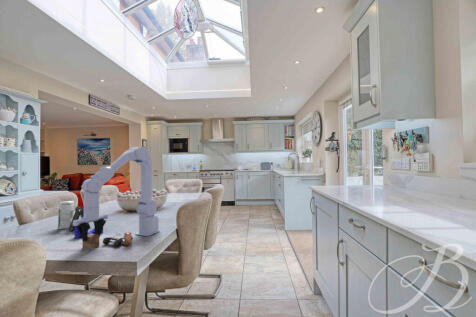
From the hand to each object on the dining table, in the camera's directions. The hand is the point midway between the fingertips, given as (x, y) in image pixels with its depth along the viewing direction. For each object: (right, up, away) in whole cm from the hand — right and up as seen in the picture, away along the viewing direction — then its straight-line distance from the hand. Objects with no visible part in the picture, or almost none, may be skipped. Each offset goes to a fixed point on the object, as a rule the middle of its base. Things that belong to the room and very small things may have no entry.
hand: (91, 239), depth 106 cm
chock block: (0, -4, 0) cm, 4 cm away
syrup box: (-33, -4, +32) cm, 46 cm away
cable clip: (-11, -4, +18) cm, 21 cm away
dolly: (+9, -4, +5) cm, 11 cm away
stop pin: (+12, -3, +3) cm, 13 cm away
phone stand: (-24, -4, +29) cm, 38 cm away
